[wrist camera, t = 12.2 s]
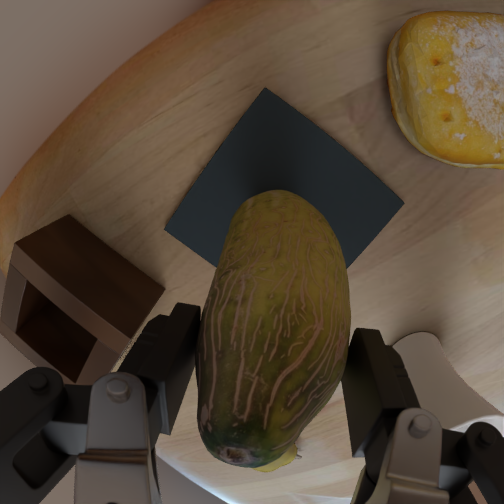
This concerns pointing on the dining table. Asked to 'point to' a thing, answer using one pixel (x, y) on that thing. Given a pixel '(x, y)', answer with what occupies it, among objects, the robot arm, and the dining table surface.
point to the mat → (283, 181)
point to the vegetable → (271, 330)
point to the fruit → (281, 460)
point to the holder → (73, 301)
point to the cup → (443, 385)
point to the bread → (450, 86)
